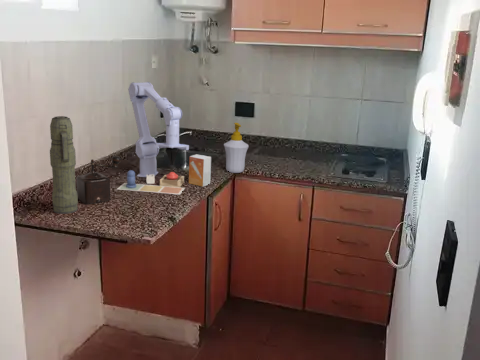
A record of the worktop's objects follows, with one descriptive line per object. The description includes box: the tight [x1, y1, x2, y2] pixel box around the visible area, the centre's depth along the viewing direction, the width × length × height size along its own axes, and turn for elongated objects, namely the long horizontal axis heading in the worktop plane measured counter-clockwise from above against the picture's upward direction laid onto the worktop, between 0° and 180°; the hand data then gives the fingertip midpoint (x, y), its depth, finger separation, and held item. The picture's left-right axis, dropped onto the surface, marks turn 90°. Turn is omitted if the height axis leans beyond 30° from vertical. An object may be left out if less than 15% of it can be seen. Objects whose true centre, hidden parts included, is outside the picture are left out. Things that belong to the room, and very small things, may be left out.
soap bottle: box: [223, 122, 249, 174], centre depth 247 cm, size 13×13×25 cm
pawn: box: [126, 169, 137, 188], centre depth 214 cm, size 4×4×8 cm
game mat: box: [116, 182, 186, 196], centre depth 214 cm, size 10×28×1 cm, turn 84°
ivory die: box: [145, 174, 156, 185], centre depth 223 cm, size 4×4×4 cm
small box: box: [188, 153, 212, 188], centre depth 224 cm, size 8×6×13 cm
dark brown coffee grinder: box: [75, 155, 122, 206], centre depth 196 cm, size 16×11×18 cm
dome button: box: [165, 171, 179, 180], centre depth 222 cm, size 5×5×4 cm
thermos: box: [49, 115, 79, 215], centre depth 179 cm, size 9×12×35 cm
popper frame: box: [159, 174, 185, 188], centre depth 222 cm, size 9×9×3 cm
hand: (172, 164), depth 220 cm, fingers closed
